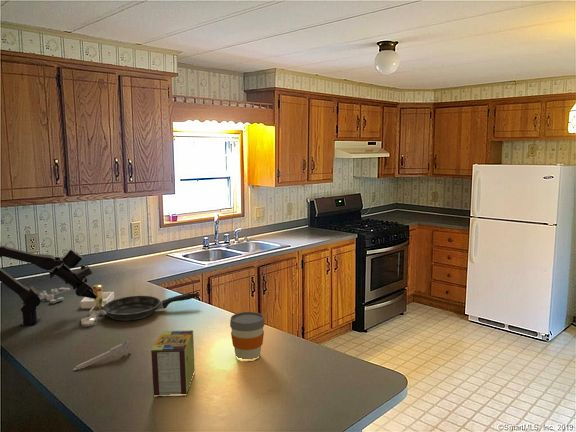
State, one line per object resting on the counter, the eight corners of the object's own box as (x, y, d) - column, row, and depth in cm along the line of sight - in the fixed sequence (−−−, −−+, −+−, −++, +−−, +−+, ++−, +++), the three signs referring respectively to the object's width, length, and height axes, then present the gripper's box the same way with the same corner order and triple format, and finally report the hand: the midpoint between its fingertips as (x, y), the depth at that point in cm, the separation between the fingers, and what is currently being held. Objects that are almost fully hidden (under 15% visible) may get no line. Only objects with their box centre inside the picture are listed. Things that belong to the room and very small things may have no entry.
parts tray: (106, 307, 225) (106, 300, 224) (80, 308, 223) (80, 301, 223) (114, 298, 238) (113, 291, 238) (90, 299, 237) (89, 292, 237)
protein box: (195, 373, 158) (193, 329, 156) (186, 397, 143) (185, 349, 141) (164, 373, 158) (162, 330, 156) (152, 397, 143) (150, 349, 140)
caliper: (130, 353, 174) (129, 337, 173) (131, 354, 173) (130, 338, 172) (72, 370, 161) (71, 353, 160) (73, 371, 160) (72, 354, 159)
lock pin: (102, 314, 216) (100, 287, 214) (93, 314, 215) (91, 287, 214) (104, 311, 220) (103, 284, 218) (96, 311, 219) (94, 284, 218)
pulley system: (29, 308, 227) (62, 303, 231) (27, 299, 226) (61, 294, 230) (41, 294, 253) (71, 290, 257) (40, 285, 252) (70, 281, 256)
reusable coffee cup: (233, 366, 163) (232, 325, 161) (228, 351, 175) (227, 313, 173) (268, 361, 166) (267, 321, 164) (261, 347, 178) (260, 310, 176)
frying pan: (101, 327, 200) (100, 312, 199) (106, 308, 224) (105, 294, 223) (203, 316, 213) (203, 302, 212) (197, 299, 237) (197, 286, 236)
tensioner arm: (95, 326, 200) (94, 321, 200) (78, 327, 200) (78, 321, 199) (108, 309, 221) (108, 304, 221) (93, 310, 221) (93, 305, 220)
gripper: (81, 266, 203) (110, 286, 210) (78, 257, 219) (105, 276, 226) (63, 286, 200) (92, 306, 207) (61, 276, 217) (88, 295, 223)
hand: (95, 295), depth 216 cm, fingers open, 9 cm apart
